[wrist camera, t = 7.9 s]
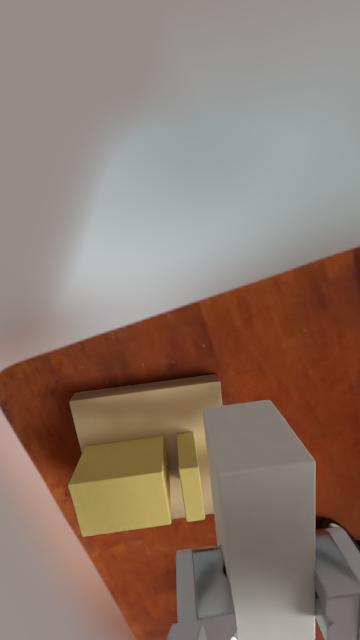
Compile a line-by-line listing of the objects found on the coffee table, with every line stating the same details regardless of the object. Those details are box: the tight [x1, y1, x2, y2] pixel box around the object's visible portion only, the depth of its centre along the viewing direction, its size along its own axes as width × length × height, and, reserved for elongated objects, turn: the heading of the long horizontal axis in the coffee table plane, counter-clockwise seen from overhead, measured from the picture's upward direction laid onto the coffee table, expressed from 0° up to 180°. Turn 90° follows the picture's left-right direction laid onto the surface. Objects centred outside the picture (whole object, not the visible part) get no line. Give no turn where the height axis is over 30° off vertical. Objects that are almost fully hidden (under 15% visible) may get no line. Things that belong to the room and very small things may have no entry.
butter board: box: [69, 374, 222, 519], centre depth 24 cm, size 14×13×2 cm
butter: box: [68, 436, 171, 537], centre depth 21 cm, size 5×7×4 cm
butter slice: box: [177, 432, 205, 522], centre depth 21 cm, size 5×2×4 cm, turn 7°
